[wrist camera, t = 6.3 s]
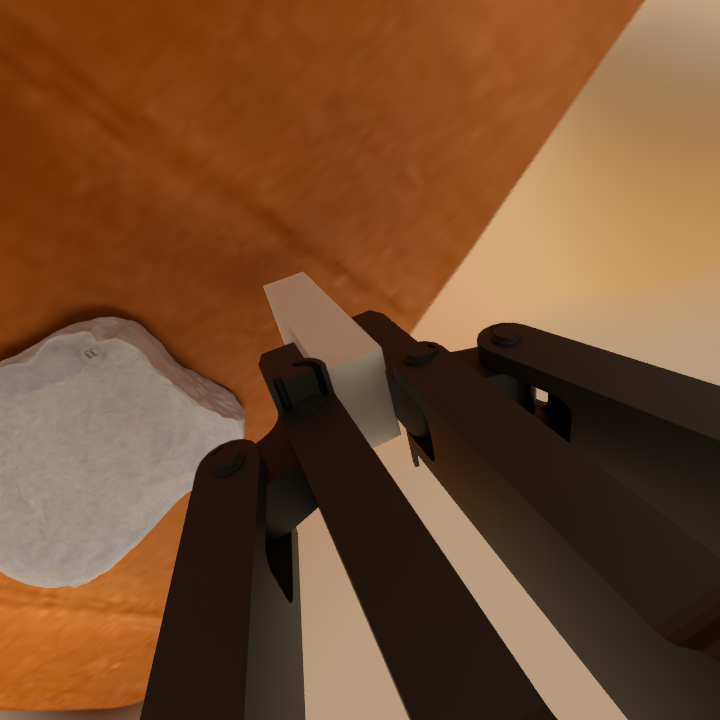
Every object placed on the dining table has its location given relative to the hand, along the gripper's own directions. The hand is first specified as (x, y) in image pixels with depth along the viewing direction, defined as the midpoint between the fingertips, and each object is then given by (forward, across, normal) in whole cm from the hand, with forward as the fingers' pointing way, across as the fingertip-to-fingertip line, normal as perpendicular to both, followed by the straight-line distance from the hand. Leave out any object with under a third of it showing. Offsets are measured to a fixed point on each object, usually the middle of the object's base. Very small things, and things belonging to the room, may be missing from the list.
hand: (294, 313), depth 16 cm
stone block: (+7, -10, -4) cm, 13 cm away
